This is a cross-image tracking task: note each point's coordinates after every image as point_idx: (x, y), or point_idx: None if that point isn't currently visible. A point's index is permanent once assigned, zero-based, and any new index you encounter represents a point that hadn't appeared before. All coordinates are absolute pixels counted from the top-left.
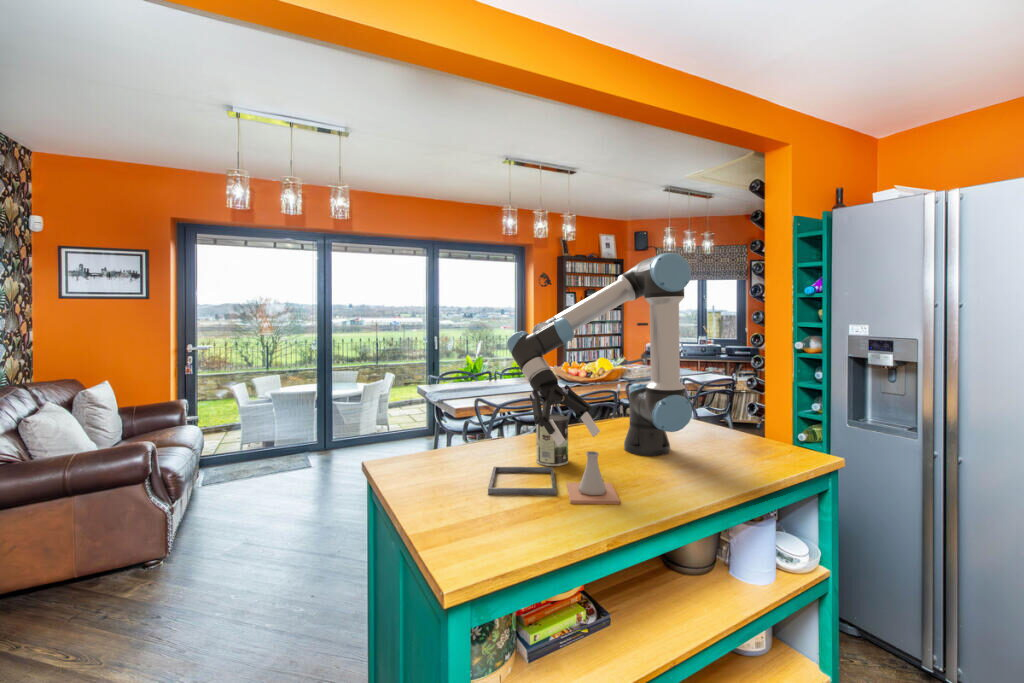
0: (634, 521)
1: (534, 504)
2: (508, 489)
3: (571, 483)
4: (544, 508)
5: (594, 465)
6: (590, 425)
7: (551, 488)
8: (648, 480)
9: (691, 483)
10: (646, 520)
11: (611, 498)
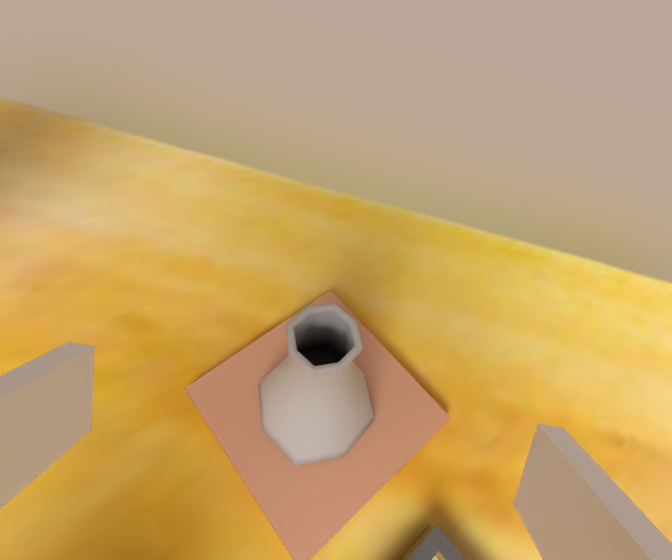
0: (401, 229)
1: None
2: None
3: (294, 538)
4: None
5: (337, 339)
6: (10, 442)
7: (447, 554)
8: (51, 310)
9: (29, 204)
10: (375, 212)
11: None
